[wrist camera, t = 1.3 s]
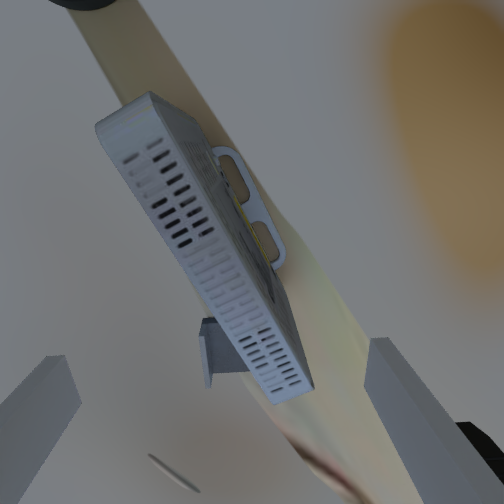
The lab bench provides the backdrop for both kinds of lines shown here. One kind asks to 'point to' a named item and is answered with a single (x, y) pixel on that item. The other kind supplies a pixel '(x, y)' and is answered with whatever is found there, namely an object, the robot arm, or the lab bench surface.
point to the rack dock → (217, 351)
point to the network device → (211, 234)
